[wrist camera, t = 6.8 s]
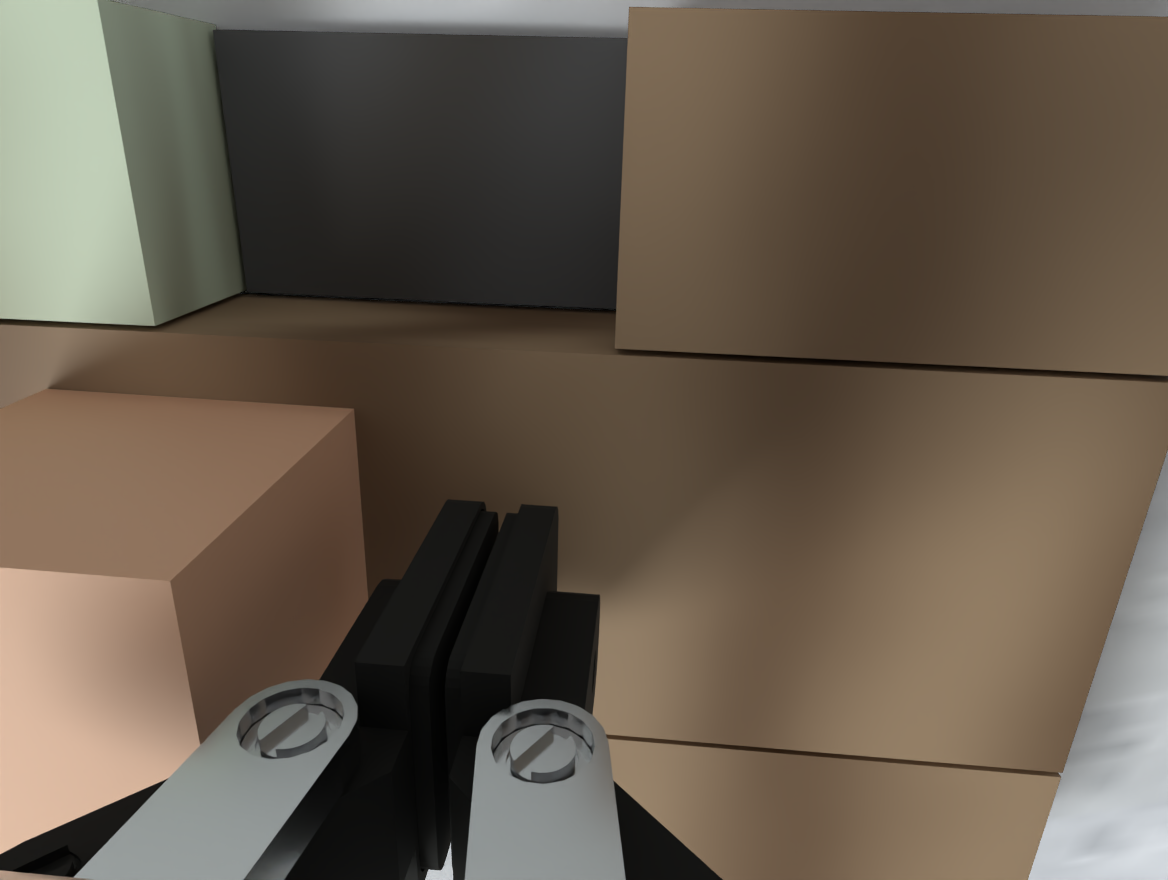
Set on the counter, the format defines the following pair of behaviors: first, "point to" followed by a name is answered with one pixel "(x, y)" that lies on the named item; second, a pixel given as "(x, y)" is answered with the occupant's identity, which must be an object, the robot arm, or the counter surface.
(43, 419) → the block
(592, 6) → the counter surface
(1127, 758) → the counter surface
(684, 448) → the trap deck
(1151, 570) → the counter surface
